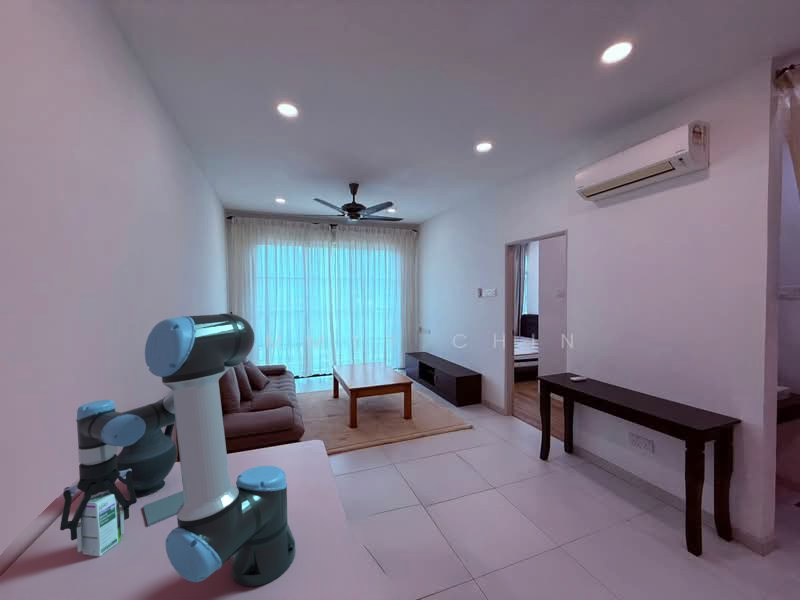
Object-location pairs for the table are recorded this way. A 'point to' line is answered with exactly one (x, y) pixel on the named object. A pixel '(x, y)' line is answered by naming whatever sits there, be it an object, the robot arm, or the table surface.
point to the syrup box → (100, 524)
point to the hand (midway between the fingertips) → (102, 539)
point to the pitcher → (149, 460)
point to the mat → (163, 508)
